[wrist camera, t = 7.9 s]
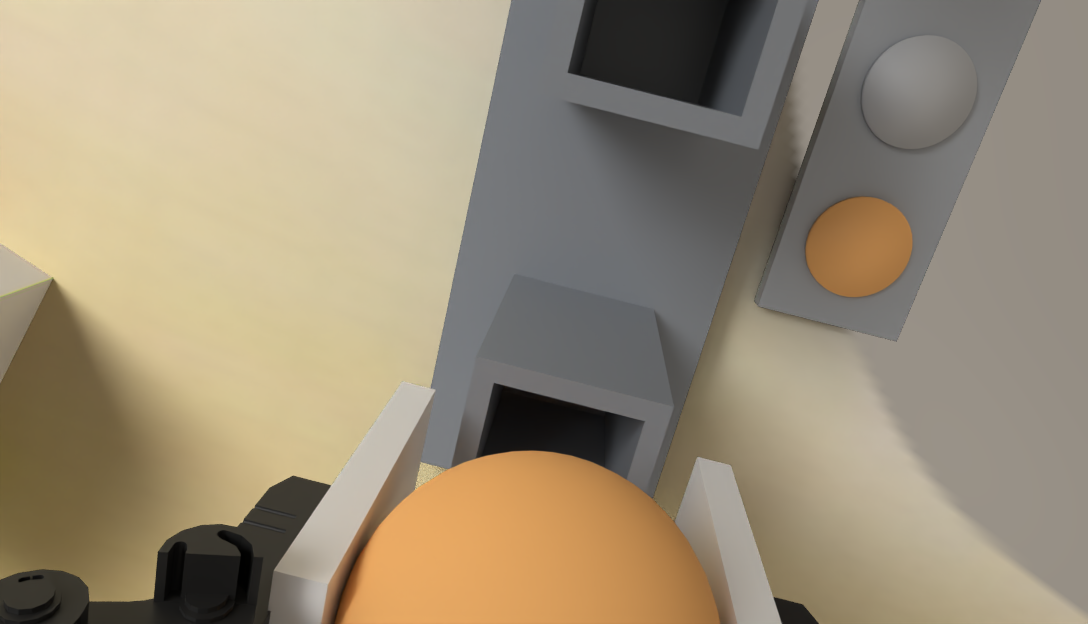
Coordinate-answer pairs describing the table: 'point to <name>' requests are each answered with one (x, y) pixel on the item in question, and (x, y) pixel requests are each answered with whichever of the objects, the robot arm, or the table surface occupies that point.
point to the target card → (890, 157)
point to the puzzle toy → (17, 301)
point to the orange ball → (527, 551)
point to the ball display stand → (605, 223)
